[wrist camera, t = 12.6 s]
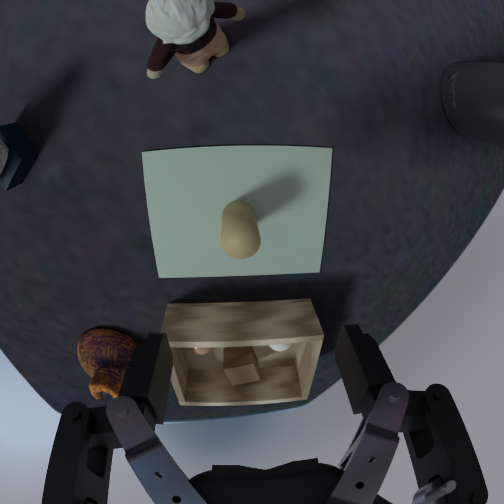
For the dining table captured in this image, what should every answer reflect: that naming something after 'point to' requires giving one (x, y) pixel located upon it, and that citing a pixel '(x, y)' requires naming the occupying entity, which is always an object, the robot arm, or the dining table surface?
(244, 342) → the box
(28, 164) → the watch
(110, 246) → the dining table surface
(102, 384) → the brown rounded piece
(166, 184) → the lid
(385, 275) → the dining table surface
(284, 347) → the cream ball
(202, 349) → the terracotta ball
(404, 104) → the dining table surface
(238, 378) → the walnut cube
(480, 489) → the robot arm
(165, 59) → the grandmother figurine
